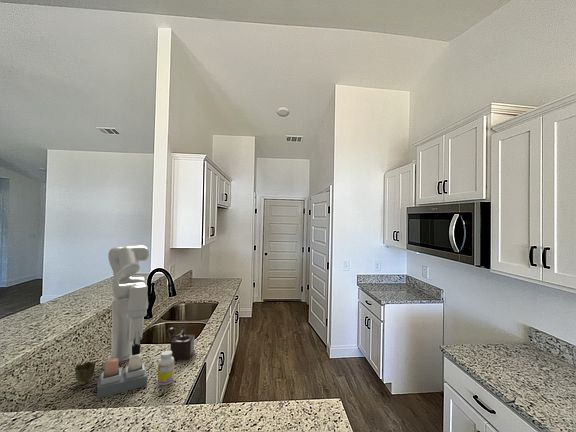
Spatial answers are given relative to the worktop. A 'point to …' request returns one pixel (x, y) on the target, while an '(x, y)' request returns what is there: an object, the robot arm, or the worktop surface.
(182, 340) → the dark brown coffee grinder
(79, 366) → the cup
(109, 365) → the brown egg
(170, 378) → the supplement bottle
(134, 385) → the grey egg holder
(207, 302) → the worktop surface
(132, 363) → the knob cream
